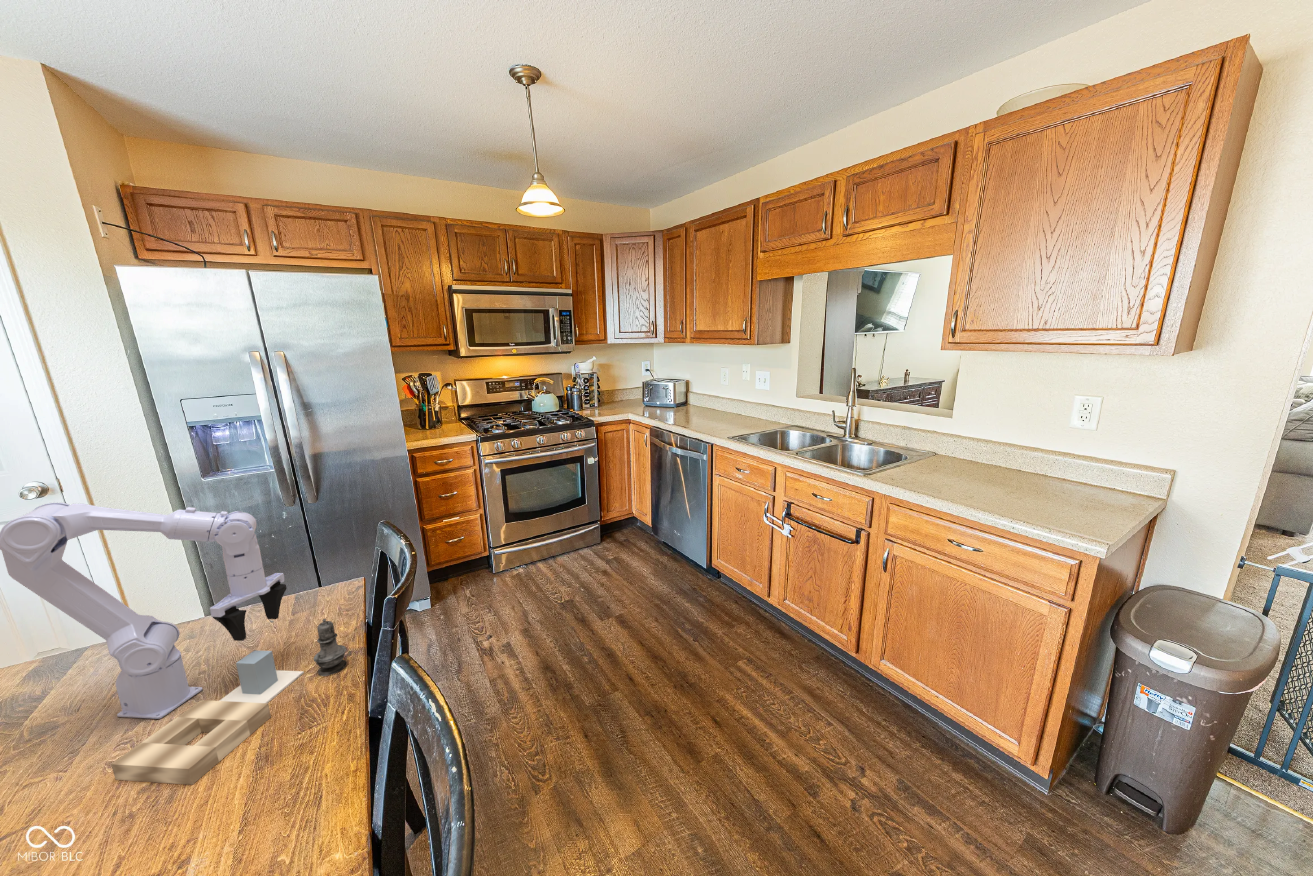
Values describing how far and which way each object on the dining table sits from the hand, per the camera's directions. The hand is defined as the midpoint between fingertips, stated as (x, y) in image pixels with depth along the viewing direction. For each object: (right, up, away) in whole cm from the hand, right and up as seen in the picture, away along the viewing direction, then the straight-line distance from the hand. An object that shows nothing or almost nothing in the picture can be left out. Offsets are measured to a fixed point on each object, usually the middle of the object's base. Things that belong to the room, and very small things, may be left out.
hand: (257, 628), depth 99 cm
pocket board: (+5, -14, -17) cm, 22 cm away
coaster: (+4, -11, -3) cm, 12 cm away
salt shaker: (+14, -10, +3) cm, 18 cm away
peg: (+4, -11, -3) cm, 12 cm away
